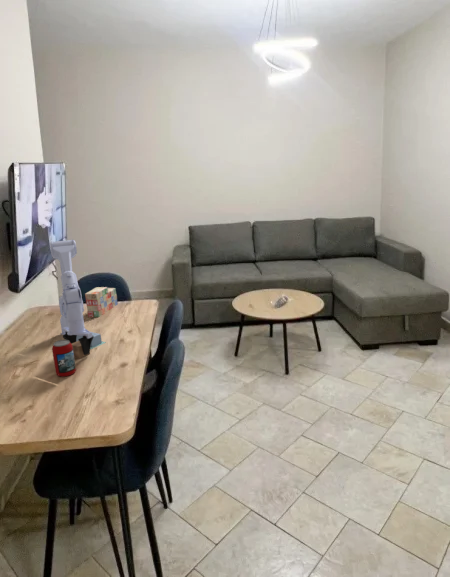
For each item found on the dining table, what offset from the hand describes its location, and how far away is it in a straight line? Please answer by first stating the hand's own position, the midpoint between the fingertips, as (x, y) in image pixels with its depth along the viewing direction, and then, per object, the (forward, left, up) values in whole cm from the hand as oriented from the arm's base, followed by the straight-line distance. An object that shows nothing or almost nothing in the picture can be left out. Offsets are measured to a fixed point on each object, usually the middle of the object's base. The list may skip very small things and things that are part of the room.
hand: (80, 352), depth 169 cm
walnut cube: (0, 0, -1) cm, 1 cm away
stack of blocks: (-38, +46, -2) cm, 60 cm away
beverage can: (+8, -13, -2) cm, 15 cm away
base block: (-7, +10, -1) cm, 12 cm away
